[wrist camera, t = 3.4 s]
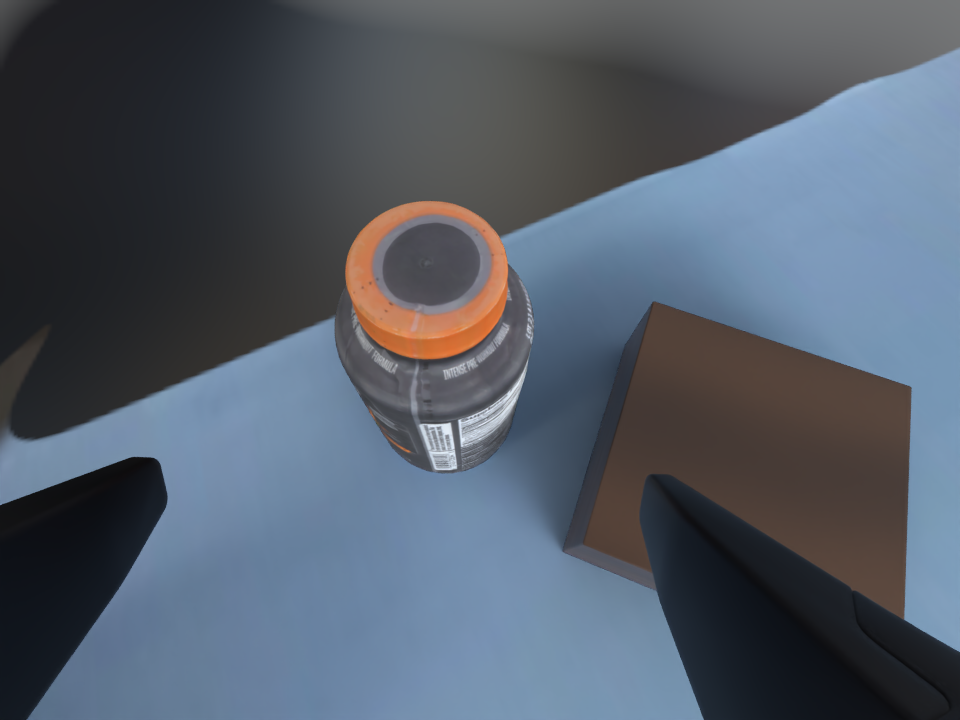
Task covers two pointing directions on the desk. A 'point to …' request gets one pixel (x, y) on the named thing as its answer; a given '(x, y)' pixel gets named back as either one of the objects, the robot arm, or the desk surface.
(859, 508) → the block
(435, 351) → the pill bottle
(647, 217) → the desk surface
